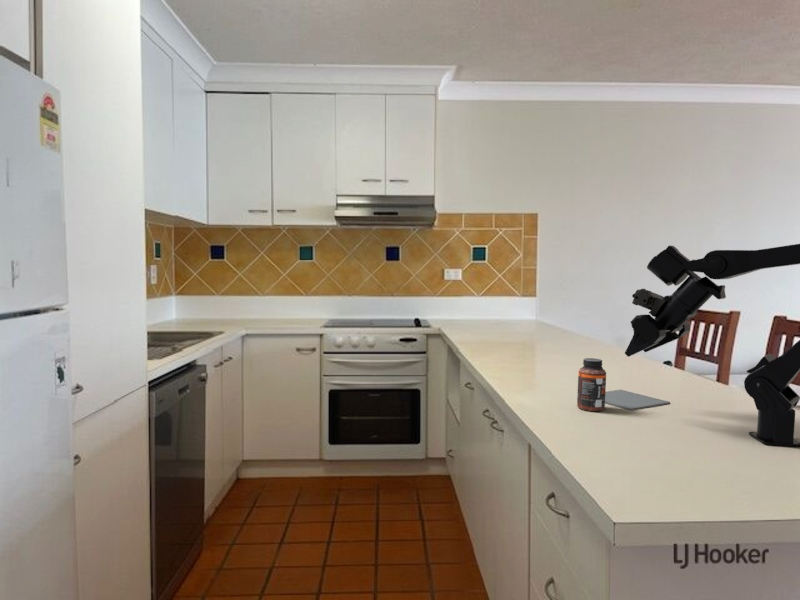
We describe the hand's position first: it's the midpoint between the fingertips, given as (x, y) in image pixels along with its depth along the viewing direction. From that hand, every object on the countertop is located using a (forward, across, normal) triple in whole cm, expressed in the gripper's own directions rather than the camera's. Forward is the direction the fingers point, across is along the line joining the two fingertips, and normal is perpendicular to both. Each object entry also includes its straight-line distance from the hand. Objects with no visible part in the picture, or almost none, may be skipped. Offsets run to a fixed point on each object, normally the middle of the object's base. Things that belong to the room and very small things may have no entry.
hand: (635, 352), depth 121 cm
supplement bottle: (+15, +5, +3) cm, 16 cm away
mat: (+14, -10, +4) cm, 17 cm away
